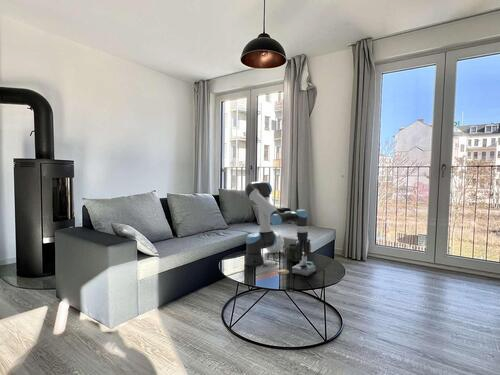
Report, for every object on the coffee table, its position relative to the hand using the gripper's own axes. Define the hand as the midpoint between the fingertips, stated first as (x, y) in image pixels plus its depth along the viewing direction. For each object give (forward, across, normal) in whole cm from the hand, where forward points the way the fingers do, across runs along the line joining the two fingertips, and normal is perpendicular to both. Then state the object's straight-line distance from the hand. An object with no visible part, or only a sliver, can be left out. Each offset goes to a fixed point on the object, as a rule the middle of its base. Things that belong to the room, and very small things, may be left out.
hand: (303, 264), depth 206 cm
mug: (+6, +15, +25) cm, 30 cm away
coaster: (+6, -11, +9) cm, 15 cm away
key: (+5, 0, 0) cm, 5 cm away
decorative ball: (+6, +18, +52) cm, 56 cm away
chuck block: (+6, +1, 0) cm, 6 cm away
